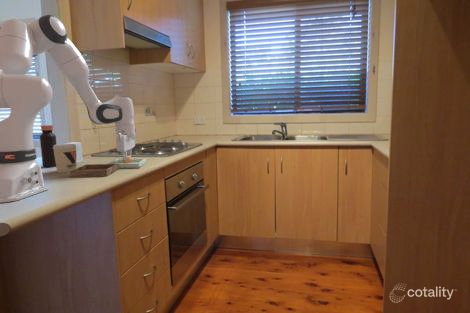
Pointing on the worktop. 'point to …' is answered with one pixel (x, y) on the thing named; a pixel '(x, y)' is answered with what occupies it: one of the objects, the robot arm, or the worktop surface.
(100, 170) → the brown wooden tray
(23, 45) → the robot arm
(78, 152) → the small box
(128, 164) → the tray
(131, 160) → the ball
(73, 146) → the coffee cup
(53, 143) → the bottle
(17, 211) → the worktop surface
